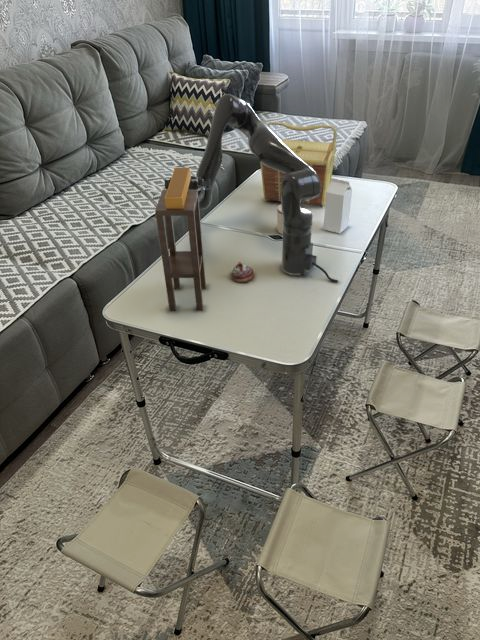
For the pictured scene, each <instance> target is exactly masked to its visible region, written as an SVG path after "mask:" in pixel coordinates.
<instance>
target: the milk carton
mask: <svg viewBox="0 0 480 640" xmlns="http://www.w3.org/2000/svg"><path fill="white" fill-rule="evenodd" d="M352 192H353V188H352V186H351V185H350V181H348V180H344V179H341V178H340V179H339V178H335V177H331V182H330V184H329V187H328V189H327V191H326V202H325V205H324V216H323V227H322V228H323V230H324V231H329V232H332V233H335V234H342V232H343V231H345V230H346V229H347V228H348V227H349V221H350V210H351V204H352V203H351V202H352V194H353V193H352Z"/></svg>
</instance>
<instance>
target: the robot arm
mask: <svg viewBox="0 0 480 640" xmlns="http://www.w3.org/2000/svg"><path fill="white" fill-rule="evenodd" d="M227 126H229V127H232V128H234V129H236V130H238V131H239V132H241V133H242V134H243V135H244V136H245V138H247V143H248V148H249V150H250V152H251V154H253V155H254V156H255V157H256V158H257V160H258V161H259V163H260V162H261V163H262V164H264V165H265V166H267V167H269V168H272V169H274V170H277V171H280V172H282V173H285V175H284V176H283V178H282V181H281V201H280V202H281V203H280V205H281V208H282V214H283V234H282V244H281V245H282V247H281V249H282V252H281V270H282V272H283V273H284V274H286V275H289V276H294V277H295V276H297V277H298V276H301V277H305V276H306V275H307V273H309V271H311V270H312V269H313V268H314V267H316V268H317V269H319V270H320V271H322V273H323V274H325V277H326V278H327V279H328V280H329V281H331V282H334V283H338V282H339V280H337V279H334V278H332V277H330V275H329V274H328V272H327V271H326V270H325V269H324V268H323V267H322V266H320V265H319V264H317V255H315V254H313V251H314V243H313V242H312V231H313V227H312V226H313V213H312V212H311V210H309V209H306V208H304V207H301V203H300V202H304V201H307V200H311V199H313V198H315V197H317V196H318V195H319V194H320V192H321V182H320V179H319V177H318V175H317V174H316V172H315V171H314V170H313V169H312V168H311V167H309V166H308V165H307V164H306V163H304V162H303V161H302V160H301V159H299V158H298V157H297V156H296V155H295V154H294V153H293V152H292V151H291V150H290V149H289V148H288V147H287V146H286V145H285V144H284V143H283V142H282V141H281V140H280V139H281V138H279V136H277V135H276V133H275V132H274V131H273V130H272V129H271V128H270V127H267V126H266V123H264V122H263V121H262V120H261V119H260V118H259V116H258V115H257V114H256V113H255V110H254V109H253V108H252V106H251V105H250V103H248V102H247V101H246V100H244V99H242V98H239V97H237V96H235V95H234V94H233V95H232V94H230V93H225V94H223V95H222V96H220V97H219V98H218V101H217V103H216V105H215V109H214V111H213V116H212V120H211V125H210V129H209V133H208V137H207V142H206V145H205V149H204V152H203V155H202V158H201V160H200V162H199V165H198V168H197V171H196V173H195V176H194V175H191V179H190V183H189V187H188V190H198V198H199V210H206V209H208V208H209V207H210V206H211V204H212V201H213V190H214V185H215V181H216V179H217V176H218V174H219V172H220V169H221V166H222V163H223V144H222V143H223V136H224V135H223V134H224V132H225V130H226V128H227ZM171 178H172V177H170V178H169V179H164V190H168V187H169V184H170V181H171ZM300 207H301V208H300Z"/></svg>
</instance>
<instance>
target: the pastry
mask: <svg viewBox="0 0 480 640" xmlns="http://www.w3.org/2000/svg"><path fill="white" fill-rule="evenodd" d="M254 276H255V271H254V268H252V267H251V266H248V265H246V264H244V263H242V262H240V261H239V262H237V264H236V265H235V266H234V267H233V270H232V272H231V274H230V277H231V279H232V280H233V281H234V282H237V283H249V282H250V281H252V279H253V278H254Z"/></svg>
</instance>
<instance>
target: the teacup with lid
mask: <svg viewBox="0 0 480 640" xmlns="http://www.w3.org/2000/svg"><path fill="white" fill-rule="evenodd" d="M300 208H302V207H301V206H300ZM276 211H277V227H276V228H277V229H276V230H277V232H278V233H279V234H280V235H283V214H282V208H281V204H279V205H278V206H277V209H276Z"/></svg>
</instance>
